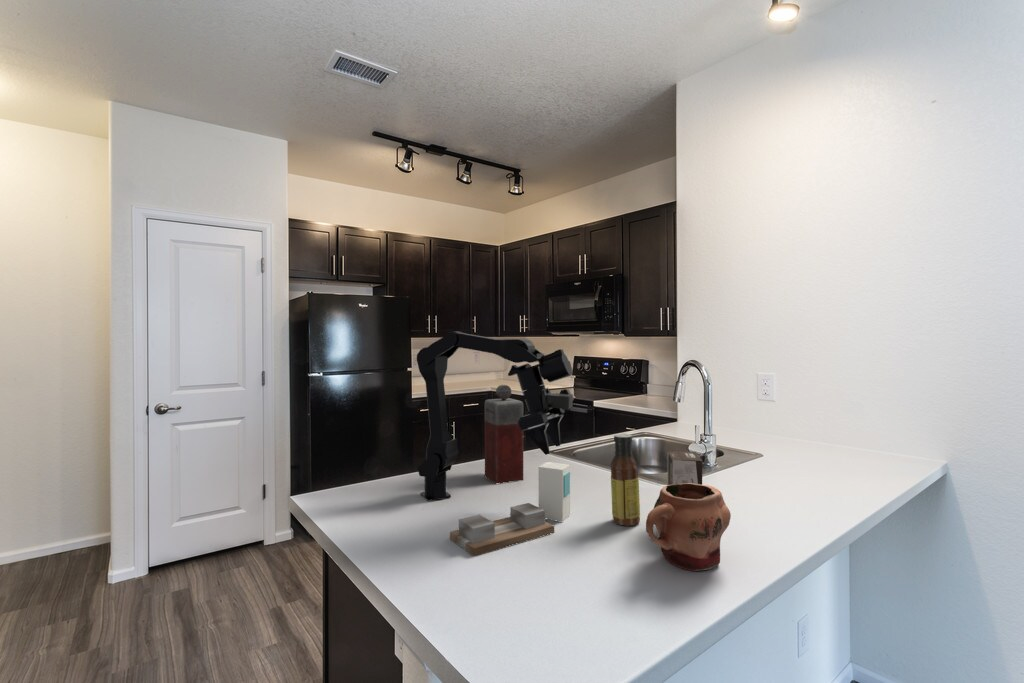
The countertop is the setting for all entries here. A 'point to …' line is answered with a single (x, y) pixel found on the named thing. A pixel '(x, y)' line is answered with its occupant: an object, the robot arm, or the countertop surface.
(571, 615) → the countertop surface
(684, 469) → the coffee box
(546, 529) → the rail board
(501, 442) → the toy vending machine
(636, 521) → the sauce bottle
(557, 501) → the block
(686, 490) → the terracotta clay mug
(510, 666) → the countertop surface
